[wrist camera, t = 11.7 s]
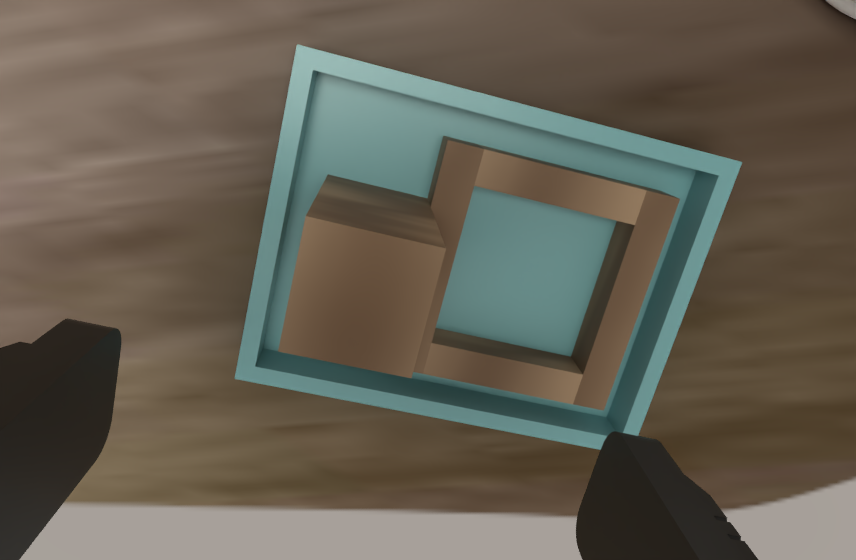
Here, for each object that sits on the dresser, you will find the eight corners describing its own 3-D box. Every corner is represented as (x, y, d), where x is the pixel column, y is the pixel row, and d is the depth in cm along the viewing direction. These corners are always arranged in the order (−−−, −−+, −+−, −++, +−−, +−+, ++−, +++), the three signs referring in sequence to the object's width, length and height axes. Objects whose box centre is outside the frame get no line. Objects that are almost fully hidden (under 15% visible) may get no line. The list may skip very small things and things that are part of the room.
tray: (710, 154, 24) (742, 162, 22) (611, 425, 27) (630, 455, 25) (304, 47, 22) (296, 44, 20) (246, 353, 25) (234, 378, 23)
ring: (660, 190, 24) (771, 236, 17) (590, 390, 26) (664, 501, 19) (341, 109, 22) (324, 124, 15) (295, 329, 24) (262, 426, 18)
